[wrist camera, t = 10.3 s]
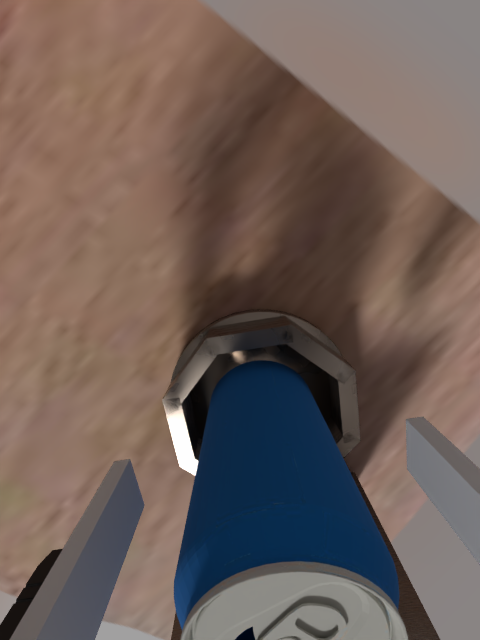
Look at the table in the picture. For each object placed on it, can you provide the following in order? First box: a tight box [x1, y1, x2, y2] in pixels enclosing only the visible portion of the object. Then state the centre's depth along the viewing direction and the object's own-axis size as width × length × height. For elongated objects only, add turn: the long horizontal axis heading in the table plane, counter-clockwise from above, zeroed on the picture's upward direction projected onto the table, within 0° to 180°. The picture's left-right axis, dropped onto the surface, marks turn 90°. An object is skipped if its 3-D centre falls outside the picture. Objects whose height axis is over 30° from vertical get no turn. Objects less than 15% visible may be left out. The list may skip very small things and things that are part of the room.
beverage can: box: [174, 360, 408, 640], centre depth 13 cm, size 6×6×12 cm
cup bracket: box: [162, 309, 440, 640], centre depth 14 cm, size 14×12×11 cm
